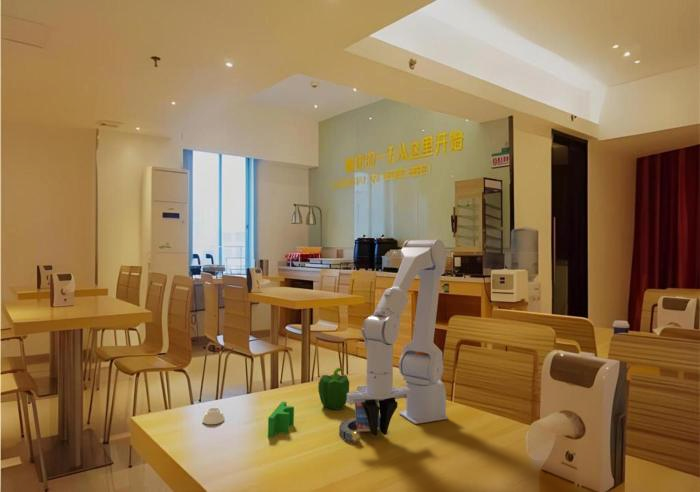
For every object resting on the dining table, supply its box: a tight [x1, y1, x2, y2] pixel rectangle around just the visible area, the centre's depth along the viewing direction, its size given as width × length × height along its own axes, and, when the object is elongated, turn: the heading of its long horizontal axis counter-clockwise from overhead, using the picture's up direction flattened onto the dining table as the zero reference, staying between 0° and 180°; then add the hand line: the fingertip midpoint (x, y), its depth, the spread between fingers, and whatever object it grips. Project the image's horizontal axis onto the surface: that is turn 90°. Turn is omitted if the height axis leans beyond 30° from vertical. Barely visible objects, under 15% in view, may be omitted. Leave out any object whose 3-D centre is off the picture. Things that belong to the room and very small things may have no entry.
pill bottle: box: [354, 384, 380, 432], centre depth 105 cm, size 6×5×10 cm
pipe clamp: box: [267, 401, 295, 439], centre depth 106 cm, size 11×4×5 cm, turn 173°
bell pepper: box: [317, 366, 350, 410], centre depth 122 cm, size 8×8×10 cm
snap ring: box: [338, 417, 380, 445], centre depth 105 cm, size 8×12×2 cm, turn 143°
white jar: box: [202, 407, 226, 426], centre depth 111 cm, size 5×3×5 cm
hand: (378, 433), depth 101 cm, fingers closed
